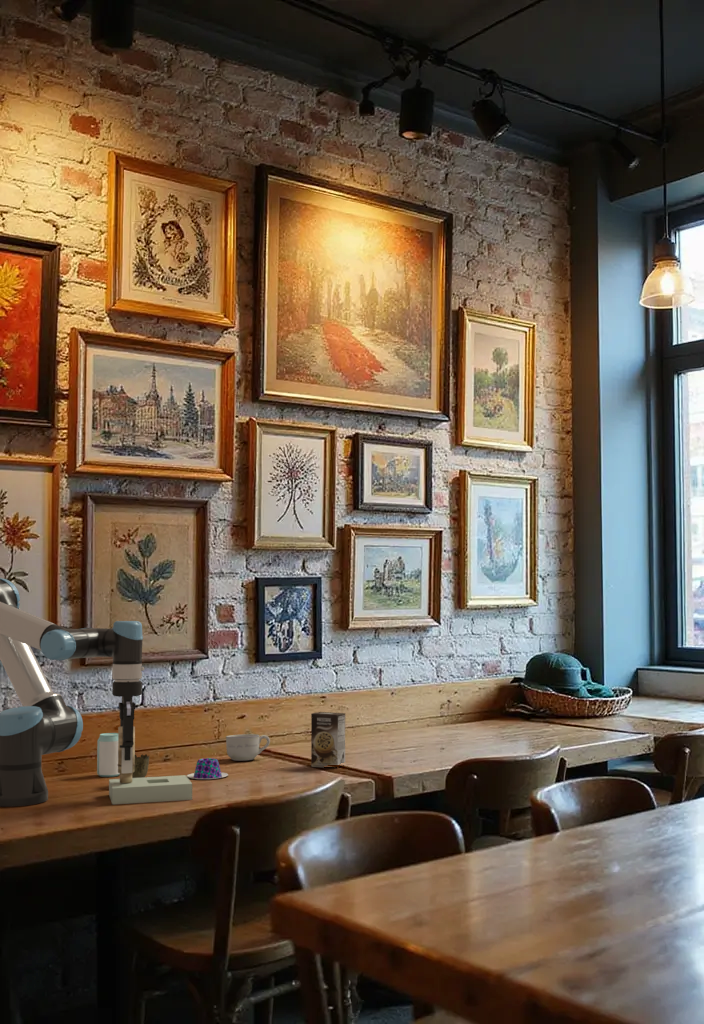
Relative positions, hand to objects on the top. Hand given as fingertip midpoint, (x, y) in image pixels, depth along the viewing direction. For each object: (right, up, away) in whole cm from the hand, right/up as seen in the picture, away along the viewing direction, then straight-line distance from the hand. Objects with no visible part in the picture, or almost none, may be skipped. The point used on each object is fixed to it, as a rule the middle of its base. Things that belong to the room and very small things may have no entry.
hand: (126, 771), depth 275 cm
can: (-13, -10, +36) cm, 40 cm away
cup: (-2, -9, +20) cm, 22 cm away
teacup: (+25, -12, +64) cm, 70 cm away
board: (+6, -7, +1) cm, 9 cm away
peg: (0, -3, 0) cm, 3 cm away
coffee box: (+51, -11, +49) cm, 72 cm away
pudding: (+17, -10, +32) cm, 38 cm away
